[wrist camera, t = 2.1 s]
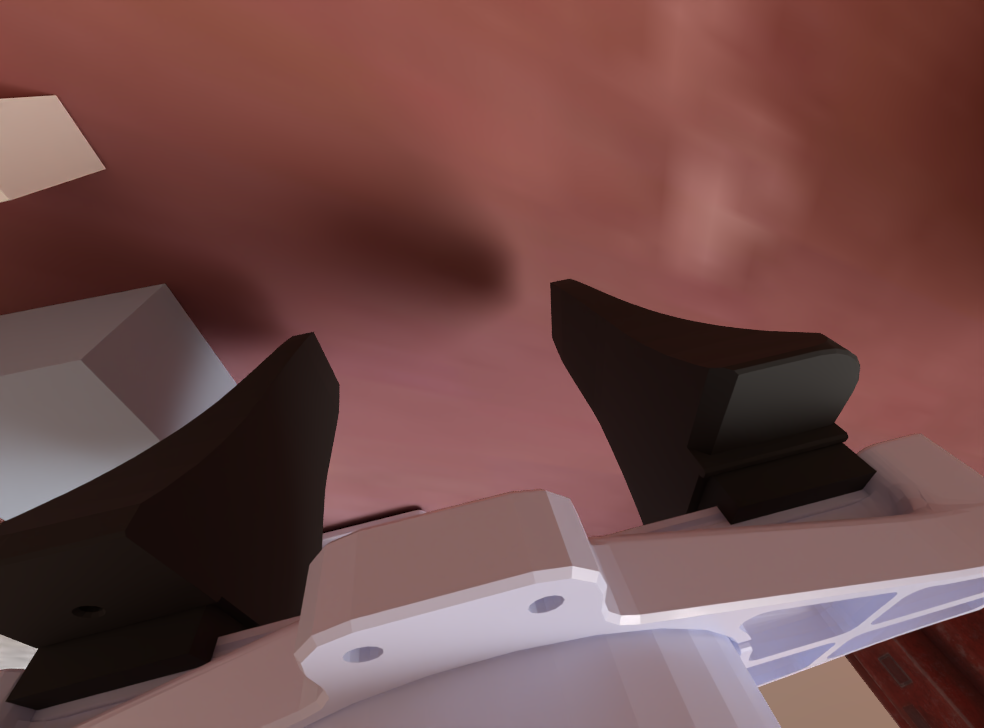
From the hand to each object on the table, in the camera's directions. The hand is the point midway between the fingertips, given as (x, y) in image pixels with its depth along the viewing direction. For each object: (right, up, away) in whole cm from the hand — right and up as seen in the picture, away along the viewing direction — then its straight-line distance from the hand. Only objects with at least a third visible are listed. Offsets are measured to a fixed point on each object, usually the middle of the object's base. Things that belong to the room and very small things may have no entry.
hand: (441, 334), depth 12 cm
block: (-10, -1, +1) cm, 10 cm away
